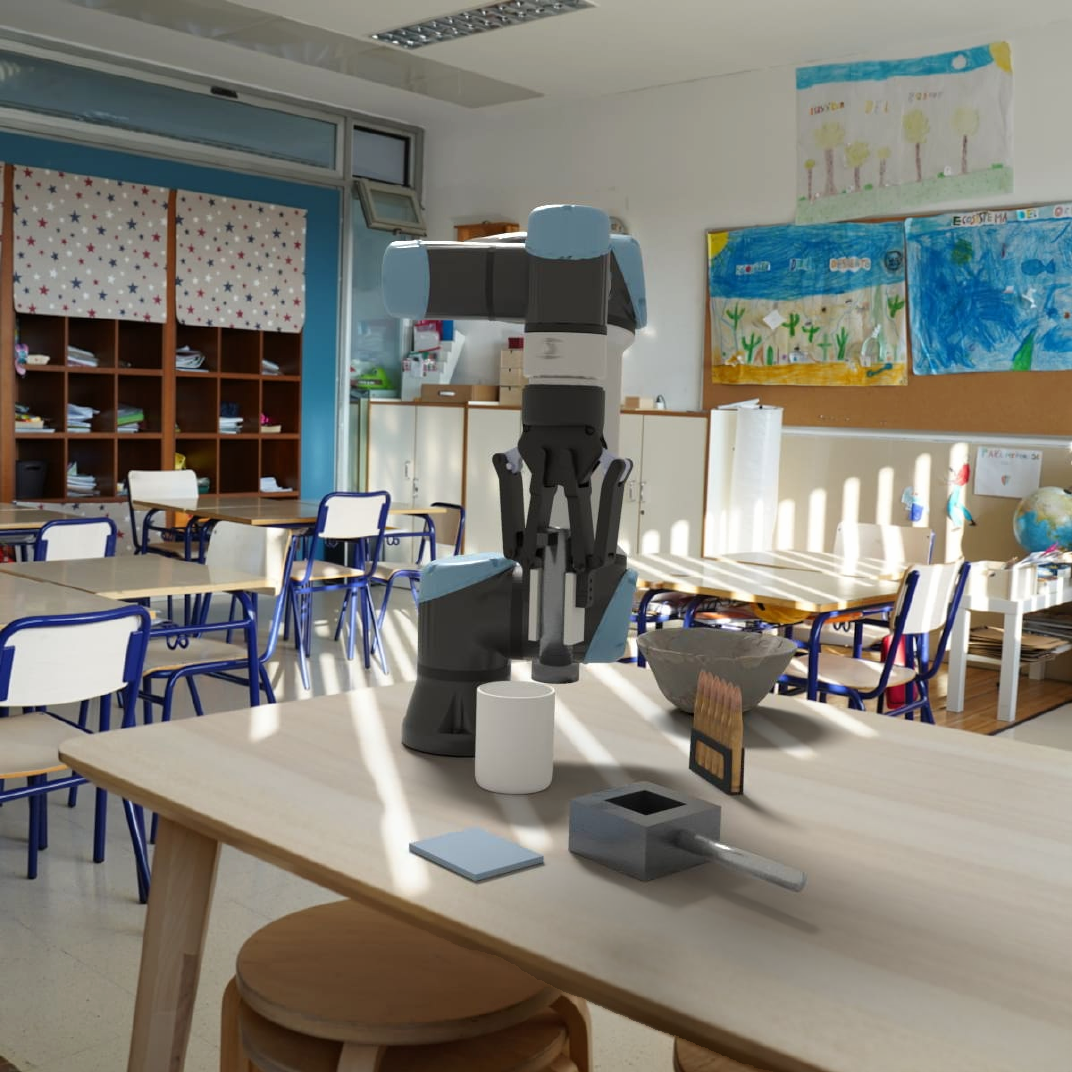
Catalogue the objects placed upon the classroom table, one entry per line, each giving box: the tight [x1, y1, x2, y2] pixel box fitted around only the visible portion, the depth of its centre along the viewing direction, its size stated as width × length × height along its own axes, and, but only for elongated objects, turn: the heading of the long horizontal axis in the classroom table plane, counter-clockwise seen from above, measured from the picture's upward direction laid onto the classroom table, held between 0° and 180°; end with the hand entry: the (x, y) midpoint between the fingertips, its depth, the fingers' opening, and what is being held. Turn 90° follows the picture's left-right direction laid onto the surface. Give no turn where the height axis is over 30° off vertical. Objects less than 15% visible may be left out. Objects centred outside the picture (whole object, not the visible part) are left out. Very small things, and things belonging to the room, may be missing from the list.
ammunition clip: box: [688, 669, 746, 796], centre depth 145 cm, size 11×2×12 cm, turn 17°
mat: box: [408, 826, 545, 882], centre depth 119 cm, size 10×8×1 cm
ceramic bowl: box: [635, 627, 798, 714], centre depth 179 cm, size 22×23×10 cm
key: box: [530, 526, 580, 685], centre depth 117 cm, size 7×4×14 cm, turn 153°
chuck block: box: [567, 780, 807, 894], centre depth 115 cm, size 23×10×5 cm, turn 41°
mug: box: [474, 680, 556, 795], centre depth 143 cm, size 9×12×11 cm
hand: (556, 639), depth 118 cm, fingers closed on key, 3 cm apart
